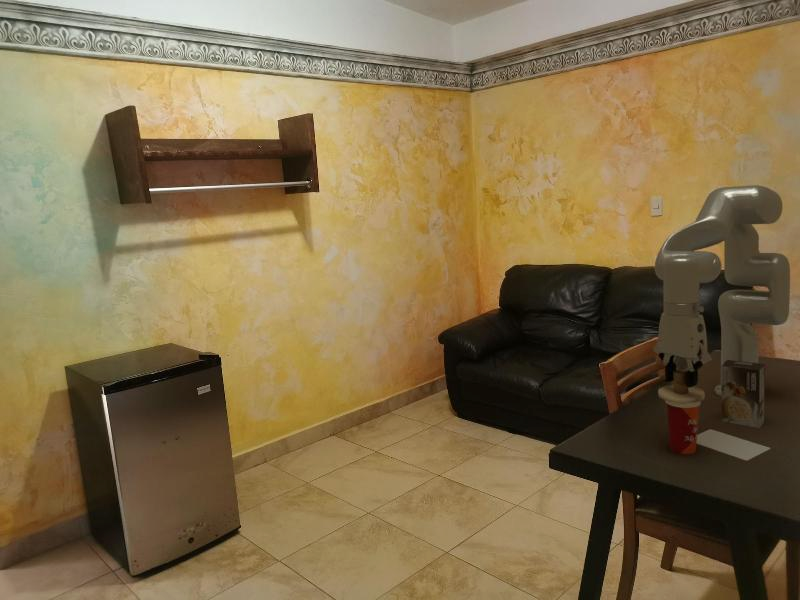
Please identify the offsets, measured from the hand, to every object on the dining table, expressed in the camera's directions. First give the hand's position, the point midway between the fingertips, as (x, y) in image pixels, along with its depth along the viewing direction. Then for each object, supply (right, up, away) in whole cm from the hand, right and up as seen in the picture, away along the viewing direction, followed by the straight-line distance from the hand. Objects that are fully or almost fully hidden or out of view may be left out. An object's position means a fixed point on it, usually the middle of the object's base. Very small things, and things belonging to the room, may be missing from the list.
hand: (681, 382), depth 139 cm
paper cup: (+2, -17, +3) cm, 18 cm away
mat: (+13, -16, +3) cm, 21 cm away
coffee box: (+24, -13, +16) cm, 31 cm away
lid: (0, -3, +1) cm, 3 cm away
